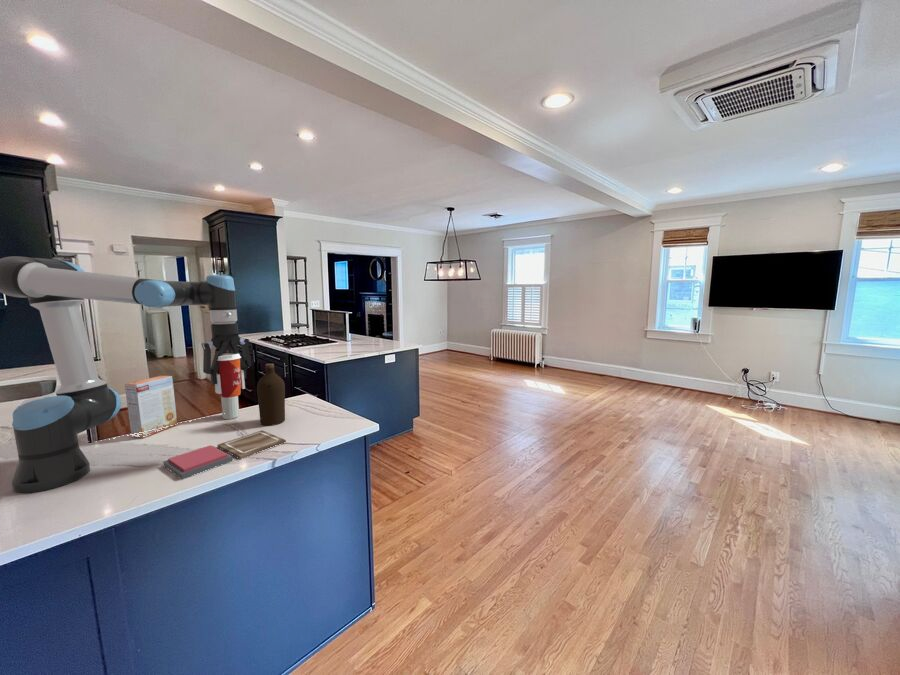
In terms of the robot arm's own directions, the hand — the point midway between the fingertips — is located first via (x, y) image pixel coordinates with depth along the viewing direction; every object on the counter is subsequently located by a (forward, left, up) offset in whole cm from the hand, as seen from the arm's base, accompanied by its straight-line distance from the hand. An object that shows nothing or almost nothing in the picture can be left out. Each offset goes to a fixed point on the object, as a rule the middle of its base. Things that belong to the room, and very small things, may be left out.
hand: (230, 390), depth 120 cm
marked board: (-1, +6, -22) cm, 23 cm away
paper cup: (0, 0, -2) cm, 2 cm away
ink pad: (-1, -11, -22) cm, 24 cm away
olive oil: (-17, +23, -22) cm, 36 cm away
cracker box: (-45, -9, -22) cm, 50 cm away
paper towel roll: (-37, +16, -22) cm, 46 cm away
